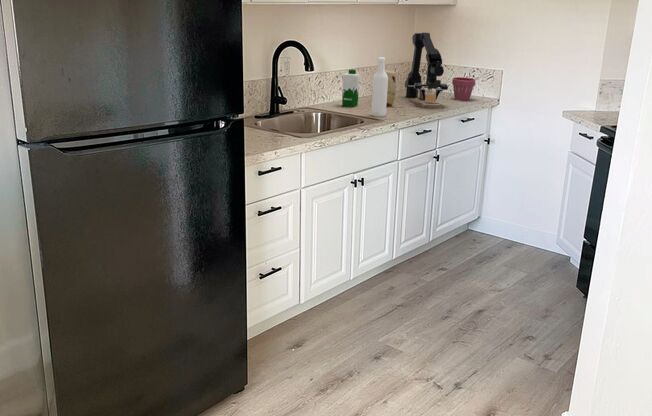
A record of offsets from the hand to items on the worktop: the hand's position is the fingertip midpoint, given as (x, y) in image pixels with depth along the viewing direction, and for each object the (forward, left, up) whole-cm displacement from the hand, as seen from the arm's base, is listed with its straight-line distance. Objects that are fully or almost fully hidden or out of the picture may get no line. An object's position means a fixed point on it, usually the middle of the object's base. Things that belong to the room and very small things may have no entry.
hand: (429, 101), depth 363 cm
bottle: (-10, -45, -3) cm, 46 cm away
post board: (-4, +4, -3) cm, 7 cm away
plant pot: (+7, +36, -3) cm, 37 cm away
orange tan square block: (0, 0, 0) cm, 0 cm away
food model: (-20, -15, -3) cm, 25 cm away
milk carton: (-36, -30, -3) cm, 47 cm away
